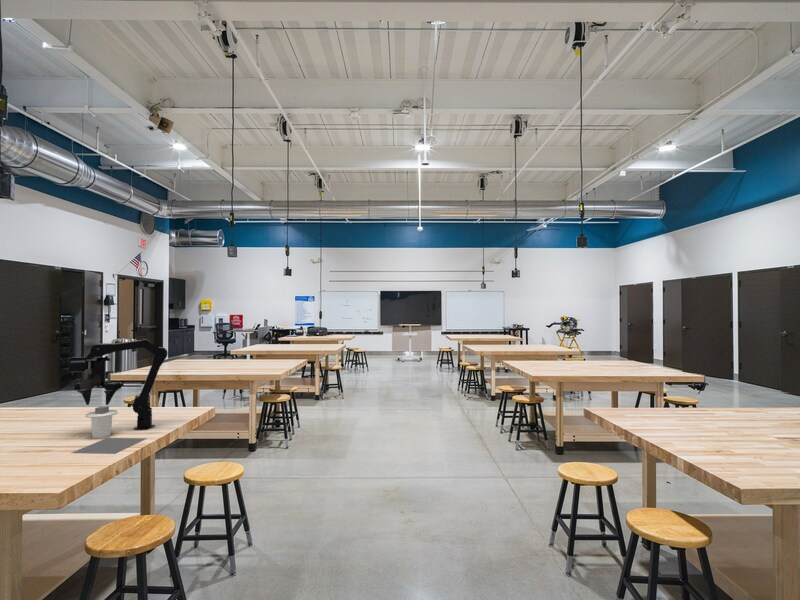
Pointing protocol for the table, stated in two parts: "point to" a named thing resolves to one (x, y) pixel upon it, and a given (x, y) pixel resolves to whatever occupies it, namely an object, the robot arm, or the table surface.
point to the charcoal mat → (110, 445)
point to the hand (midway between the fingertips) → (97, 404)
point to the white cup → (101, 426)
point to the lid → (101, 412)
